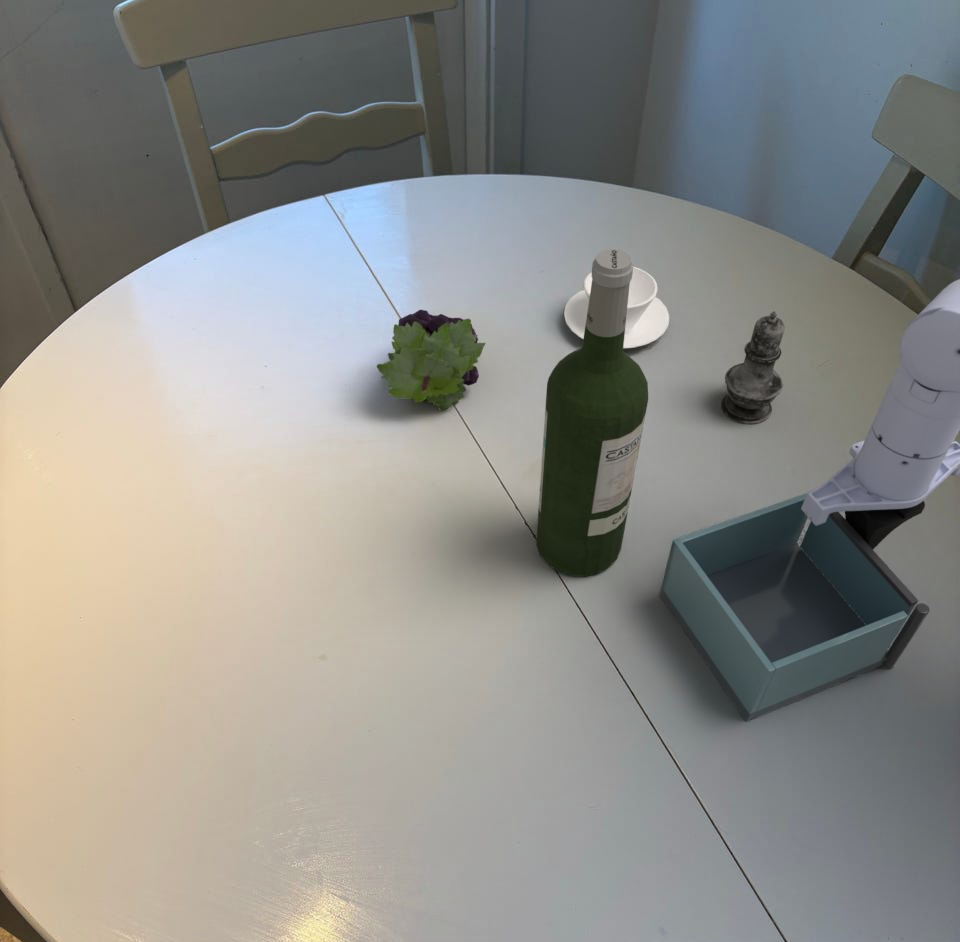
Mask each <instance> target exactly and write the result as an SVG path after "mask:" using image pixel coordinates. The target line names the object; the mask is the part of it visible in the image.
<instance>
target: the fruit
mask: <svg viewBox="0 0 960 942" xmlns="http://www.w3.org/2000/svg"><path fill="white" fill-rule="evenodd" d="M392 330H393V331H392V333H393V336H392V337H391V339H392V340H393V341H391V346H392V349H393V350H394V352H388V353H387V357H388V359H389V361H386V362H384V363H378V364H376V368H377V370H378V372H379V373H380V374H381V375H382V376H381V379H383V380H385V381H386V382H387V383H386V384H385V386H386V387H388V391H387V394H389V395H390V396H392V397H394V398H396V399H399V400H402V399H403V400H413V401H414V403H415V404H417V403H421V402H423V401H425V400H426V402H427V403H428V404H429V403H430V404H431V403H432V406H437V408H438V409H439V411H441V412H442V411H443V412H444V411H445V410H448V408H452V407H453V406H454V407H455V406H456V405H457V404H458V403H459V400H461V399H463V398H465V396H464V395H465V394H463V392H466V390H467V388H466V386H472V385H473V384H477V382H478V379H479V376H480V374H479V371H478V368H477V366H475V364H477V363H478V362H479V360H478V358H480V357H481V355H482V352H483V349H484V348H485V345H486V342H479V337H478V336H479V334H477V333H476V331H475V329H474V327H473V325H472V320H471V319H470V318H465V319H463V318H461V317H449V316H446V315H445V314H442V313H440V314H438V315H433V314H430V313H429V311H428V310H426V309H425V310H424V309H419V310H417V311H415V312H413V313H409V314H407V315H405V316H403V317H401V318H399V319H398V324H393V329H392Z"/></svg>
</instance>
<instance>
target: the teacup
mask: <svg viewBox="0 0 960 942" xmlns="http://www.w3.org/2000/svg"><path fill="white" fill-rule="evenodd" d="M591 285H592V271H590V272H589V273H588V274H587V275H586V277H585V278H584V280H583V289H582V290H580V291H578V292H576V293H575V294H573V296H571V297H570V298H569V300H568V301H567V303H566V304H565V306H564V311H563V312H564V313H563V316H564V321H565V323H566V325H567V326H568V328H569V330H570V331H571V332H572V333H574V334H575V335H576V336H577V337H579V338H580V339H582V340H583V339H584V332H585V325H586V319H587V312H588V305H589V298H590V292H591ZM658 290H659V289H658V284H657V282H656V280H655V278H654V277H653V276H652V275H651V274H650V273H648V272H647V271H645V270H644V269H642V268H638V267H636V266H633V274H632V279H631V281H630V285H629V295H628V305H627V315H626V325H625V335H624V345H623V349H635V348H639V347H644V346H647V345H648V344H651V343H653V342H655V341H657V340H658V339H659V338H660V337H662V336H663V335H664V334H665V333H666V330H667V329H668V327H669V325H670V314H669V310H668V308H667V306H666V305H665V304H664V303H663V302H662V300H661V299H659V297H657V293H658Z"/></svg>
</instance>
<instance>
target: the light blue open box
mask: <svg viewBox="0 0 960 942" xmlns="http://www.w3.org/2000/svg"><path fill="white" fill-rule="evenodd" d="M807 493H808V492H806V493H803V494H801V495H797V496H794V497H791V498H789V499H786V500H783V501H780V502H777V503H774V504H772V505H769V506H765V507H762V508H760V509H757V510H754V511H751V512H749V513H746V514H743V515H739V516H736V517H734V518H731V519H727V520H725V521H723V522H719V523H716V524H714V525H711V526H708V527H706V528H702V529H700V530H696V531H693V532H691V533H687V534H684V535H682V536H680V537H676V538H674V539H672V541H671V546H670V548H669V549H670V550H669V552H668V557H667V562H666V566H665V570H664V573H663V578H662V582H661V587H660V591H659V596H660V598H661V599H662V601H663V602H664V603H665V605H666V606H667V608H668V609H669V611H670V612H671V614H672V615H673V617H674V618H675V619H676V621H677V623H678V624H679V625H680V627H681V629H682V630H683V631H684V633H685V634H686V635H687V637H688V638H689V640H690V641H691V643H692V644H693V646H694V647H695V648H696V650H697V651H698V653H699V654H700V656H701V657H702V659H703V661H704V662H705V663H706V665H707V666H708V668H709V669H710V671H711V672H712V674H713V675H714V676H715V678H716V680H717V681H718V682H719V684H720V685H721V686H722V688H723V689H724V691H725V692H726V694H727V695H728V697H729V698H730V700H731V701H732V703H733V704H734V706H735V707H736V709H737V710H738V712H739V713H740V714H741V716H742V717H743V719H744V720H745V722H749V721H752V720H754V719H757V718H759V717H761V716H763V715H766V714H769V713H771V712H773V711H775V710H778V709H780V708H783V707H786V706H788V705H791V704H793V703H795V702H798V701H800V700H802V699H805V698H807V697H810V696H813V695H814V694H817V693H819V692H822V691H824V690H827V689H829V688H831V687H834V686H836V685H840V684H841V683H843V682H844V683H845V682H846V681H848V680H851V679H854V678H856V677H859V676H861V675H863V674H866V673H868V672H870V671H873V670H875V669H878V668H881V667H883V668H885V669H889V670H890V669H892V668H894V667H895V665H896V664H897V662H898V661H899V659H900V658H901V656H902V654H903V653H904V651H905V650H906V649H907V647H908V645H909V643H911V641H912V639H913V637H914V636H915V635H916V633H917V631H918V630H919V628H920V627H921V625H922V623H923V622H924V621H925V619H926V617H927V616H928V614H929V613H930V607H929V605H927V604H925V603H923V602H920V603H919V602H918V603H917V604H916V605H915V606H914V608H913V610H912V611H911V613H910V614H909V616H908V615H907V614H906V613H905V612H904V611H901V612H899V613H896V614H894V615H891V616H889V617H886V618H884V619H881V620H879V621H876V622H874V623H871V624H869V625H865V623H864V622H863V621H862V620H861V619H860V617H859V616H858V615H857V614H856V613H855V612H854V610H853V609H852V608H851V607H850V606H849V604H848V603H847V602H846V601H845V600H844V598H843V597H842V596H841V595H840V594H839V592H838V591H837V590H836V589H835V588H834V587H833V585H832V584H831V583H830V582H829V581H828V579H827V578H826V577H825V576H824V575H823V573H822V572H821V571H820V570H819V569H818V567H817V566H816V565H815V564H814V563H813V562H812V560H811V559H810V558H809V557H808V556H807V554H806V553H805V552H804V551H803V550H802V548H801V547H800V545H799V543H798V542H799V540H800V537H801V535H802V532H803V531H804V529H805V525H806V523H807V521H808V519H809V518H808V517H807V516H806V514H805V513H804V512H803V511H802V509H801V508H802V505H803V503H804V500H805V498H806V495H807ZM907 617H908V618H907ZM902 625H903V626H902ZM897 633H898V634H897ZM892 641H893V642H892Z"/></svg>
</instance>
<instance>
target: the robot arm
mask: <svg viewBox="0 0 960 942" xmlns="http://www.w3.org/2000/svg"><path fill="white" fill-rule="evenodd" d="M899 357H900V360H901V362H900V363H899V366H898V368H897V369H896V370H895V372H894V373H893V375H892V377H891V380H890V382H889V384H888V387H887V389H886V391H885V394H884V396H883V398H882V400H881V402H880V405H879V407H878V410H877V412H876V414H875V416H874V418H873V421H872V423H871V425H870V427H869V430H868V431H867V434H866V437H865V439H864V440H861V441H859V442H855V443H853V444H851V446H850V448H849V451H848V453H849V454H850V456H851V457H852V459H851V460H849V462H847V463H846V464H845V465H844V466H843V467H841V469H839V470H838V471H837V472H836V473H834V475H832V476H831V477H830V478H829V479H828V480H826V481H825V482H824V483H822V485H820V486H819V487H817V488H814V489H812V490H811V491H808V492H806V493H807V495H806V498H805V500H804V503H803V505H802V508H801V509H802V511H803V512H804V513H805V514H806V516H807V517H808V518H807V519H809V520H810V522H811V521H812V522H813V523H814V524H815V525H816V526H817V525H820V524H822V523H825V522H826V520H827V518H828V516H829V514H830V513H833V512H839V513H841V512H844V518H845V519H846V521H847V522H848V523H849V524H850V525H851V526H852V527H853V528H854V529H855V531H856V532H857V533H858V534H859V535H860V536H861V537H862V538H863V539H864V541H865V542H866V543H867V544H868V545H869V546H870V547H871V548H872V549H873V550H874V549H875V548H877V546H879V544H881V542H882V541H883V540H885V539H886V537H888V535H890V534H891V533H892V532H894V531H895V530H896V529H897V528H898V527H899V526H901V525H902V524H904V523H905V522H907V521H909V520H911V519H912V518H914V517H917V516H918V515H921V514H922V513H923V511H924V510H925V508H926V503H925V500H926V499H927V498H928V497H929V496H930V495H931V494H932V493H933V492H934V491H935V490H936V489H937V488H938V487H939V486H941V484H942V483H944V481H946V480H947V479H948V478H949V477H950V476H953V477H954V476H959V475H960V443H959V442H958V441H956V440H955V439H956V437H958V436H957V435H958V434H959V432H960V278H959V279H957V280H954V281H953V282H951V283H949V284H948V285H947V286H946V287H944V288H942V290H941V291H940V292H939V293H938V294H937V295H936V296H935V297H934V298H933V299H932V300H931V301H930V302H929V303H928V304H927V305H926V306H925V307H924V308H923V309H922V310H921V312H920V313H918V314H917V316H915V318H914V319H912V321H911V322H910V323H909V324H908V326H907V328H906V329H905V330H904V332H903V334H902V335H901V338H900V342H899Z"/></svg>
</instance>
